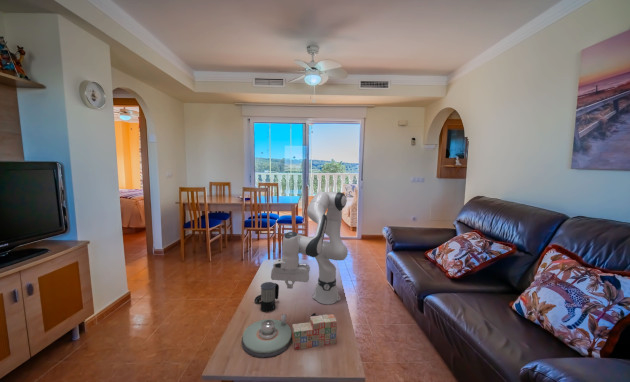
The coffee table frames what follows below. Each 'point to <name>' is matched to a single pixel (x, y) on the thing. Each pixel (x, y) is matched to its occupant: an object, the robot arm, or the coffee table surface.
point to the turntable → (267, 346)
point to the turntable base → (266, 355)
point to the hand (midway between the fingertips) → (289, 288)
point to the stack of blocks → (315, 332)
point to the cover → (268, 330)
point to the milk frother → (268, 296)
